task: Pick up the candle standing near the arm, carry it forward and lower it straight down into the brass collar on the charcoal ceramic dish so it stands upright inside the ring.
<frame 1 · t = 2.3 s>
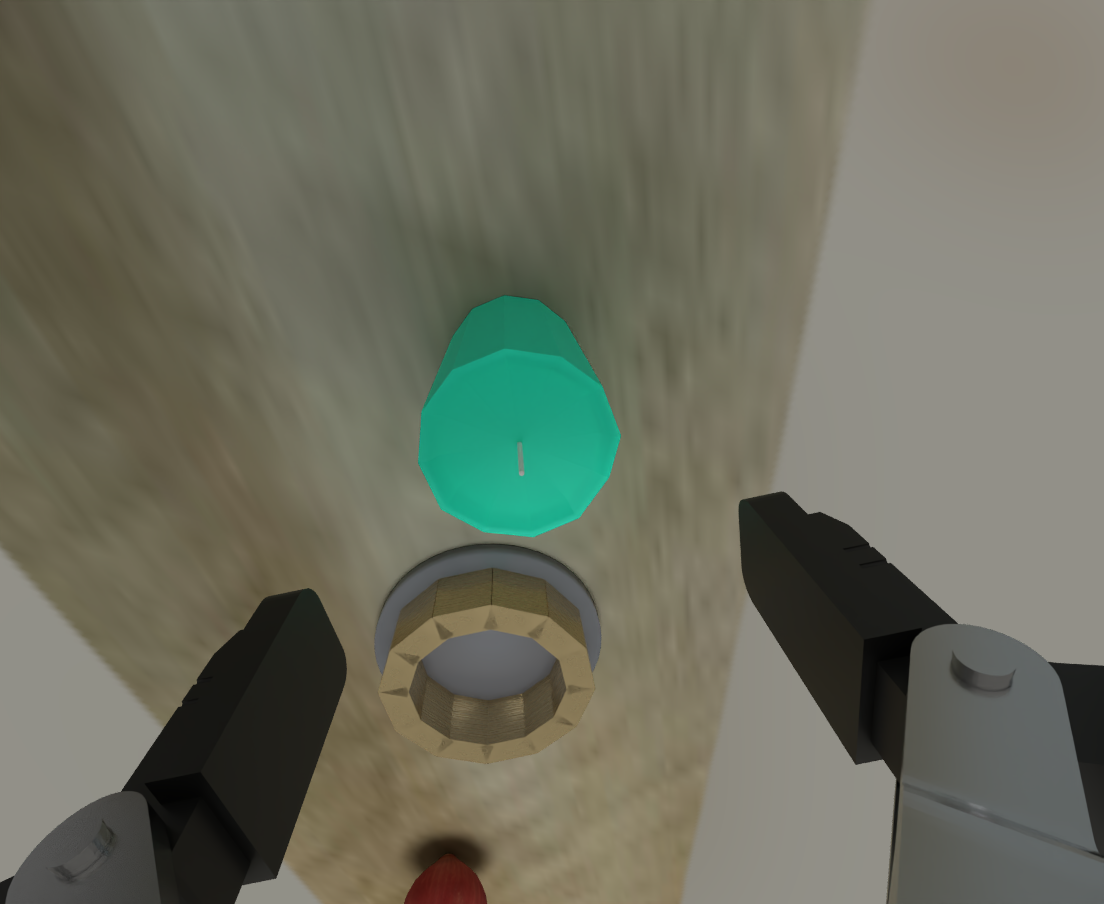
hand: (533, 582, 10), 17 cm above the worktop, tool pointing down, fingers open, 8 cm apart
dish: (490, 636, 32), on the worktop
onion: (449, 853, 40), on the worktop
collar: (489, 668, 29), on the dish, point 2 cm above the worktop
candle: (513, 359, 25), on the worktop
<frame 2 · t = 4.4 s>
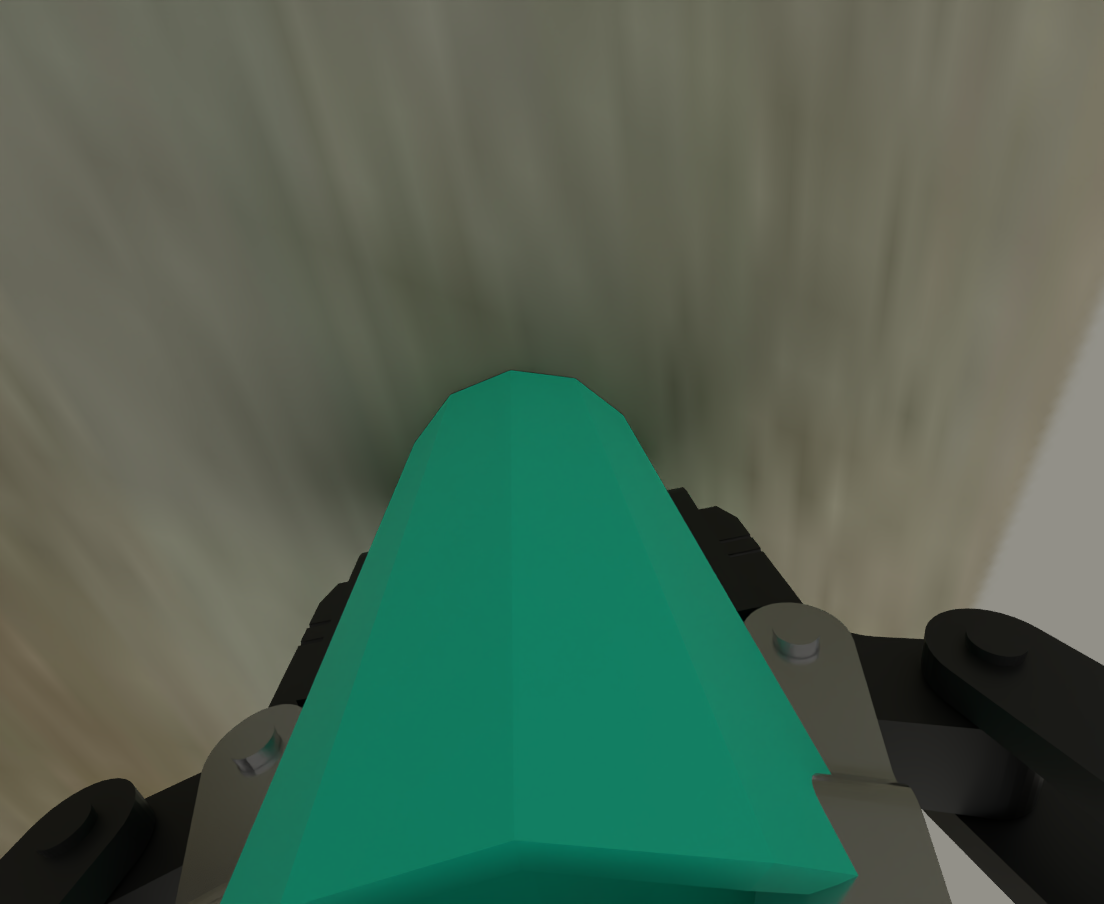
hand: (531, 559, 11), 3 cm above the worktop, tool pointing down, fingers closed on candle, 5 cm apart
candle: (527, 479, 14), on the worktop, touching gripper
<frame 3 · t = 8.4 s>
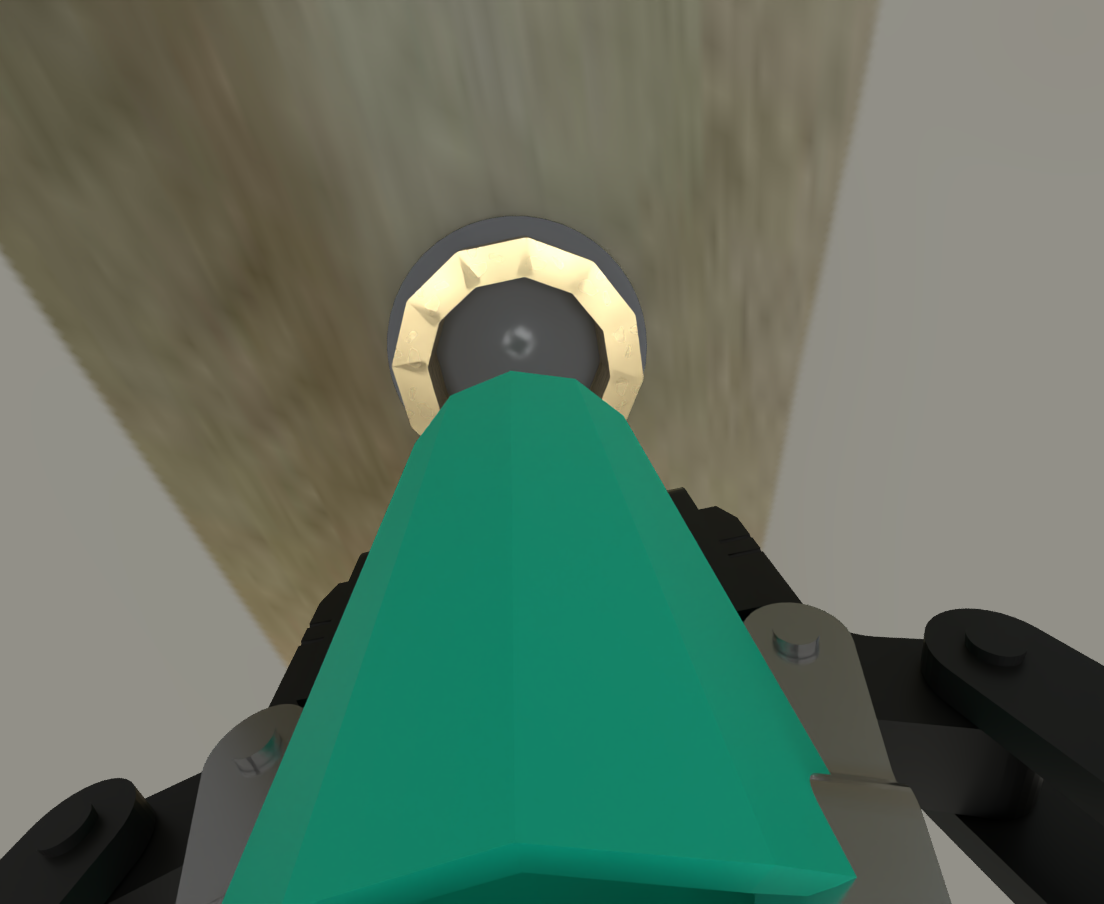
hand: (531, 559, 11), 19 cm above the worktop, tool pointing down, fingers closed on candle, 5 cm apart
dish: (519, 352, 28), on the worktop
collar: (519, 364, 25), on the dish, point 2 cm above the worktop
candle: (527, 479, 14), point 15 cm above the worktop, touching gripper
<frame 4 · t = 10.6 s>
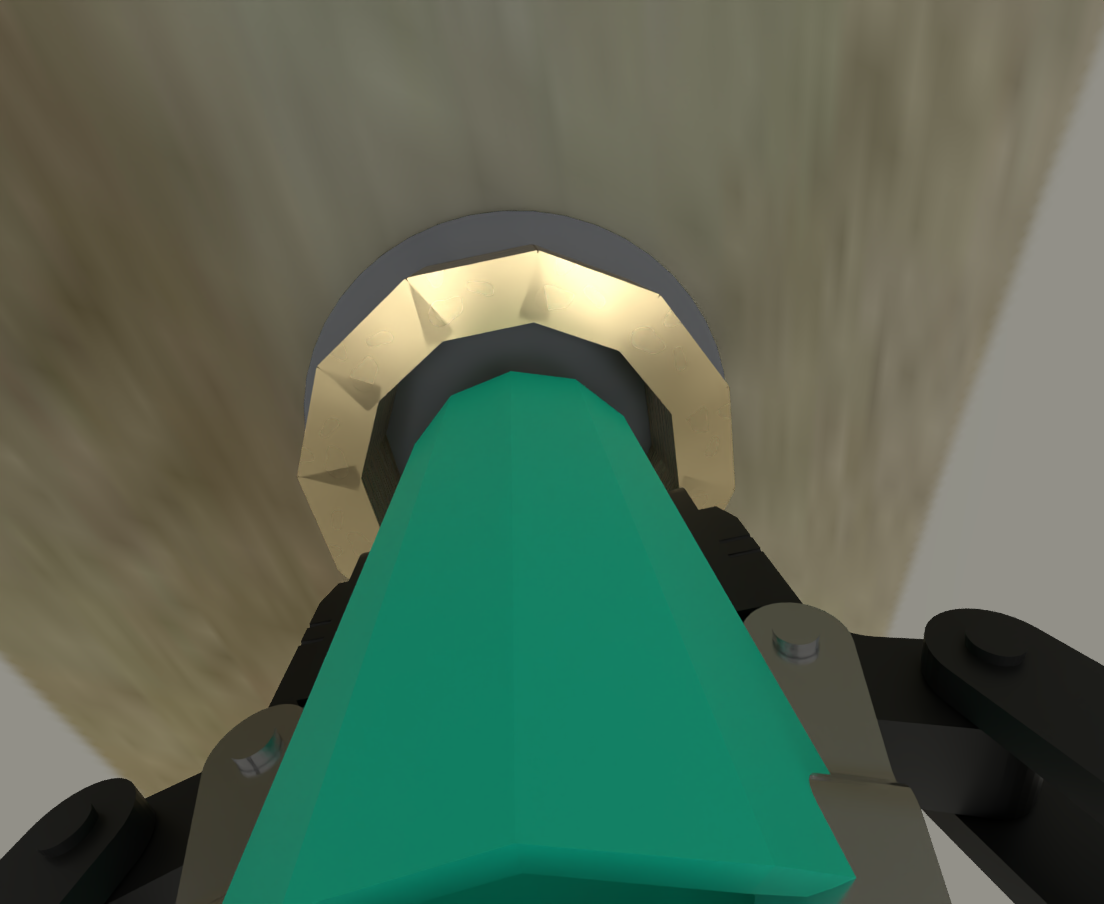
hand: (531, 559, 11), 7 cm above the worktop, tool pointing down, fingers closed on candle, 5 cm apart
dish: (521, 427, 17), on the worktop
collar: (523, 459, 15), on the dish, point 2 cm above the worktop
candle: (527, 479, 14), point 4 cm above the worktop, touching gripper
when the fingers open (5 cm above the worktop, at t = 12.5 s): candle stays where it is, resting on dish.
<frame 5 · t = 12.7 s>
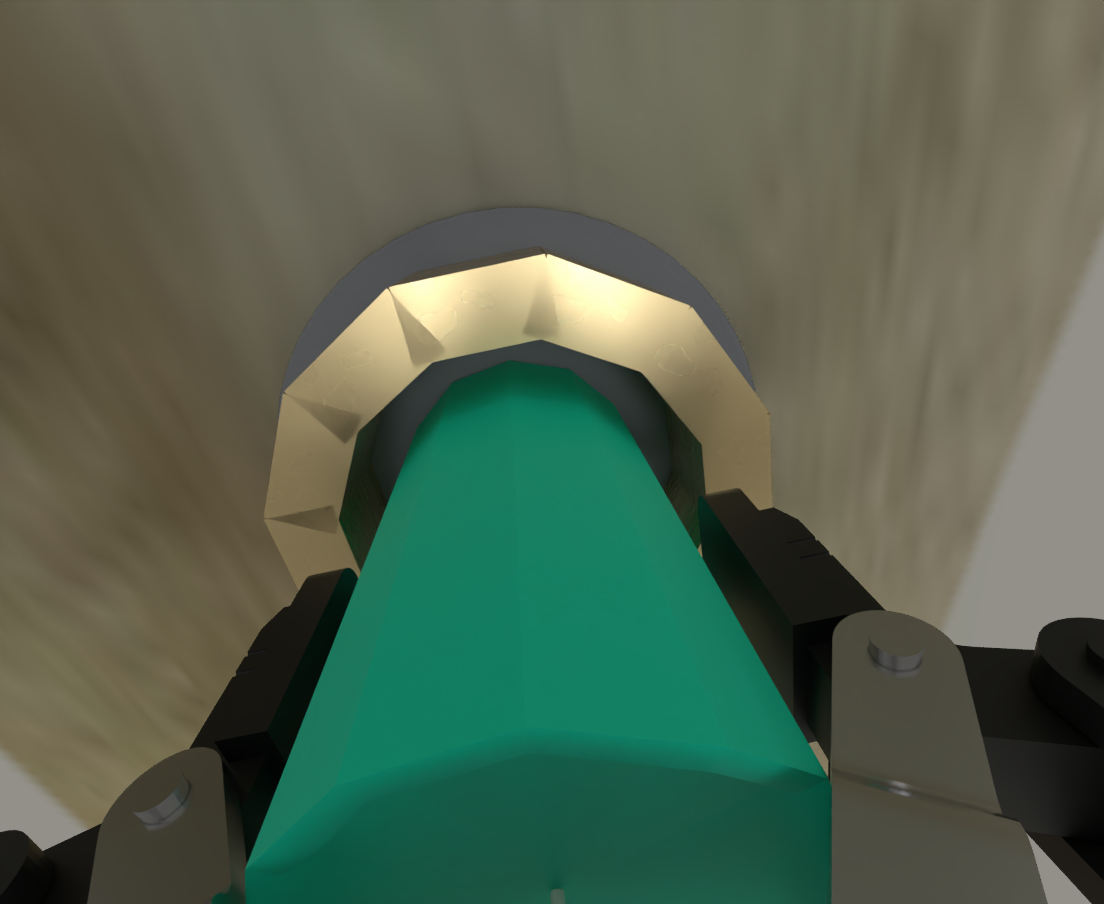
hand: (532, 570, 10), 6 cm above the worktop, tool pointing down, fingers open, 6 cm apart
dish: (524, 452, 16), on the worktop
collar: (527, 492, 13), on the dish, point 2 cm above the worktop
candle: (522, 464, 15), point 1 cm above the worktop, touching dish
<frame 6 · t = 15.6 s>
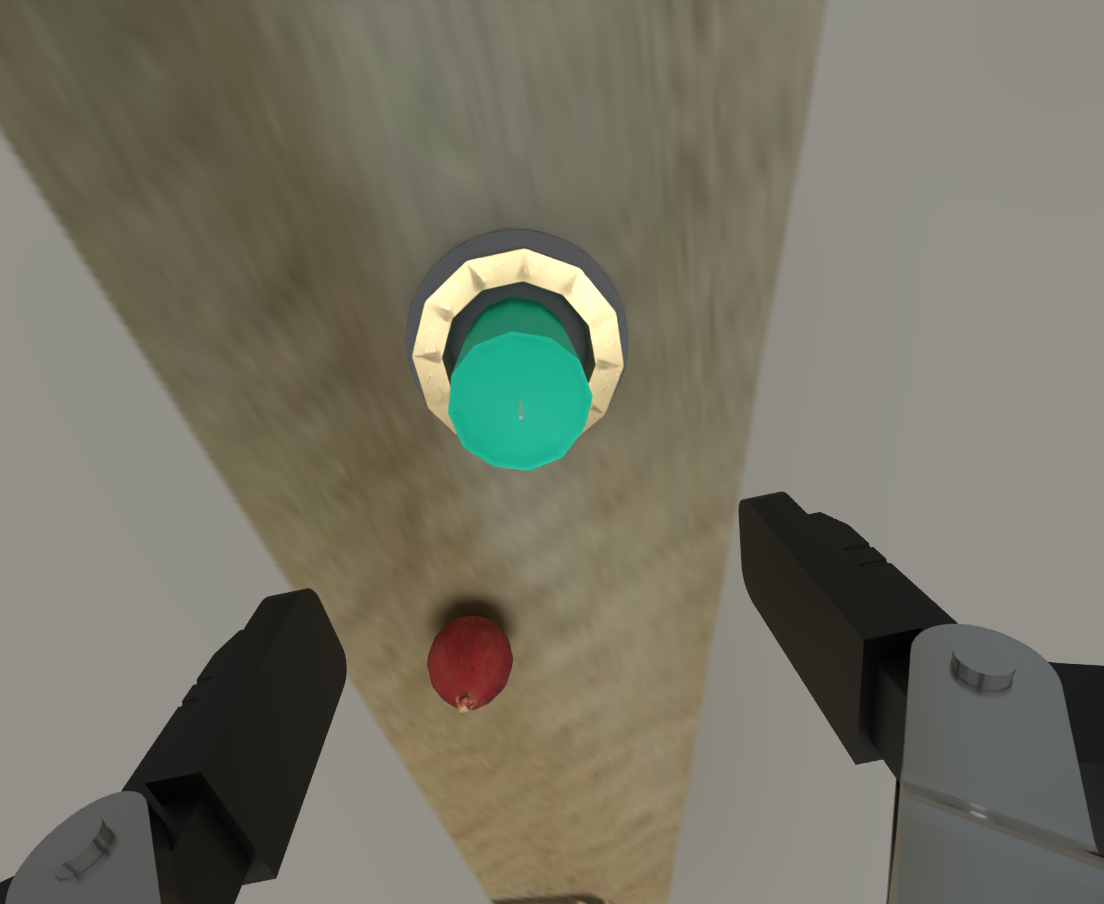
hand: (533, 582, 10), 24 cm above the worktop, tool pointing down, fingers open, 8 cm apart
dish: (518, 345, 32), on the worktop
onion: (474, 621, 41), on the worktop
collar: (519, 354, 30), on the dish, point 2 cm above the worktop
candle: (517, 347, 32), point 1 cm above the worktop, touching dish
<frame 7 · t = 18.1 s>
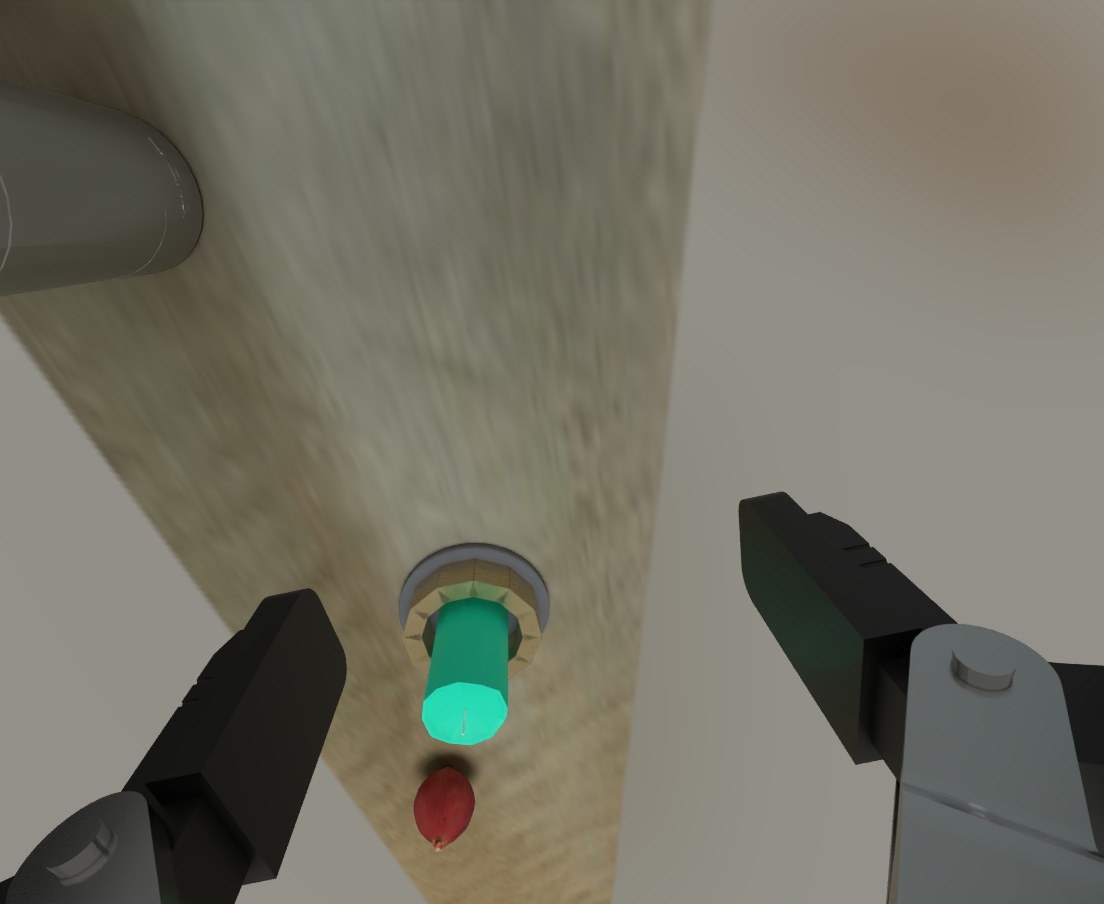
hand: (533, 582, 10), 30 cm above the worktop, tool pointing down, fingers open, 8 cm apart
dish: (475, 605, 47), on the worktop
onion: (448, 766, 56), on the worktop
collar: (473, 624, 45), on the dish, point 2 cm above the worktop
candle: (474, 611, 47), point 1 cm above the worktop, touching dish
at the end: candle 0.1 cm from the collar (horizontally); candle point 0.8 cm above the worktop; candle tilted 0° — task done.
